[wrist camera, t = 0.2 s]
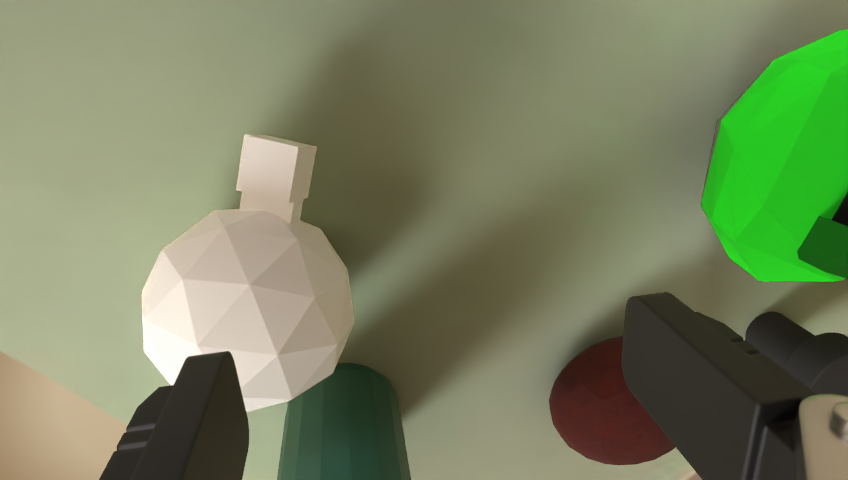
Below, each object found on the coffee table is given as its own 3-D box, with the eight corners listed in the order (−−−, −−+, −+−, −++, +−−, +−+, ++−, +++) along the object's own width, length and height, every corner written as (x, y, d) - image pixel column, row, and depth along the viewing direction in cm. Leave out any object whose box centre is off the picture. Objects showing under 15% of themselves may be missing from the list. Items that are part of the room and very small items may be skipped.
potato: (667, 397, 35) (729, 466, 30) (547, 436, 35) (587, 514, 29) (657, 302, 32) (724, 358, 27) (526, 344, 32) (566, 410, 26)
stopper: (737, 303, 33) (817, 358, 28) (805, 294, 34) (897, 346, 28) (727, 366, 35) (800, 429, 29) (791, 356, 35) (875, 416, 30)
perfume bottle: (353, 381, 29) (400, 160, 26) (290, 488, 20) (351, 169, 18) (202, 341, 30) (233, 122, 27) (75, 426, 21) (105, 111, 18)
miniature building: (722, -1, 26) (964, -21, 16) (898, 73, 29) (1197, 97, 19) (620, 223, 30) (765, 322, 20) (785, 270, 33) (986, 378, 23)
